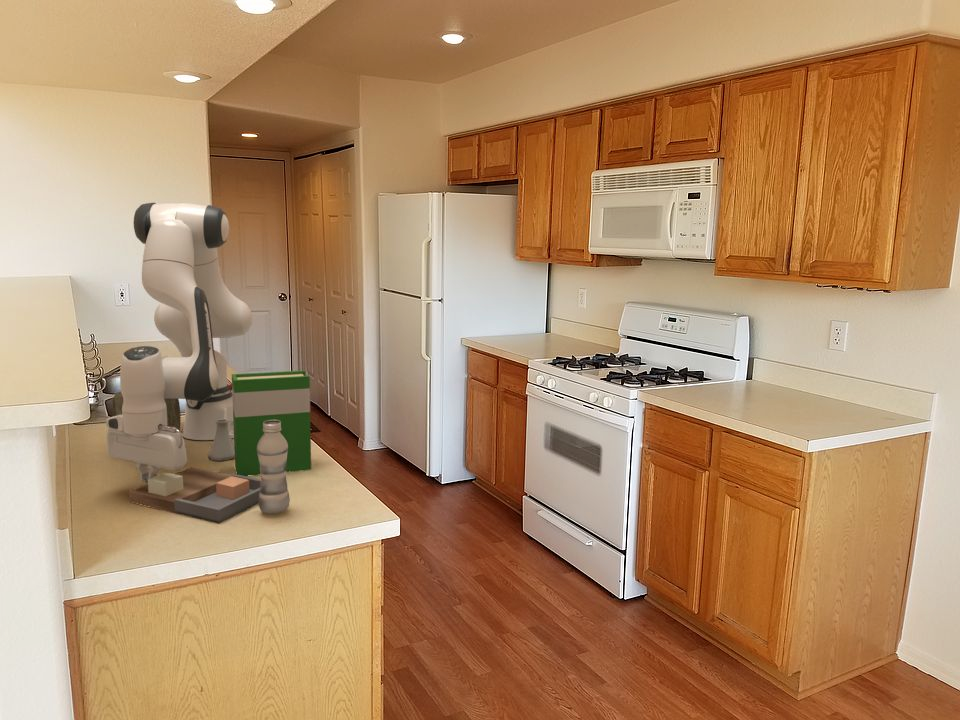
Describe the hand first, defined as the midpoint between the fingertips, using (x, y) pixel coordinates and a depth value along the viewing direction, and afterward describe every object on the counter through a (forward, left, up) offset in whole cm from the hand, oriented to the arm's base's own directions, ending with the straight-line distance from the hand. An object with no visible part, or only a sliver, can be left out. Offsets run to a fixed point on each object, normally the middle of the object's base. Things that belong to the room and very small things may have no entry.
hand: (148, 482), depth 162 cm
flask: (-29, -6, -4) cm, 30 cm away
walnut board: (-5, +5, -4) cm, 8 cm away
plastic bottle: (-6, +29, -4) cm, 30 cm away
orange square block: (-9, +16, -3) cm, 18 cm away
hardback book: (-28, +11, -4) cm, 31 cm away
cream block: (0, +5, -1) cm, 5 cm away
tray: (-5, +17, -4) cm, 18 cm away
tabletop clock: (-21, -24, -4) cm, 32 cm away
